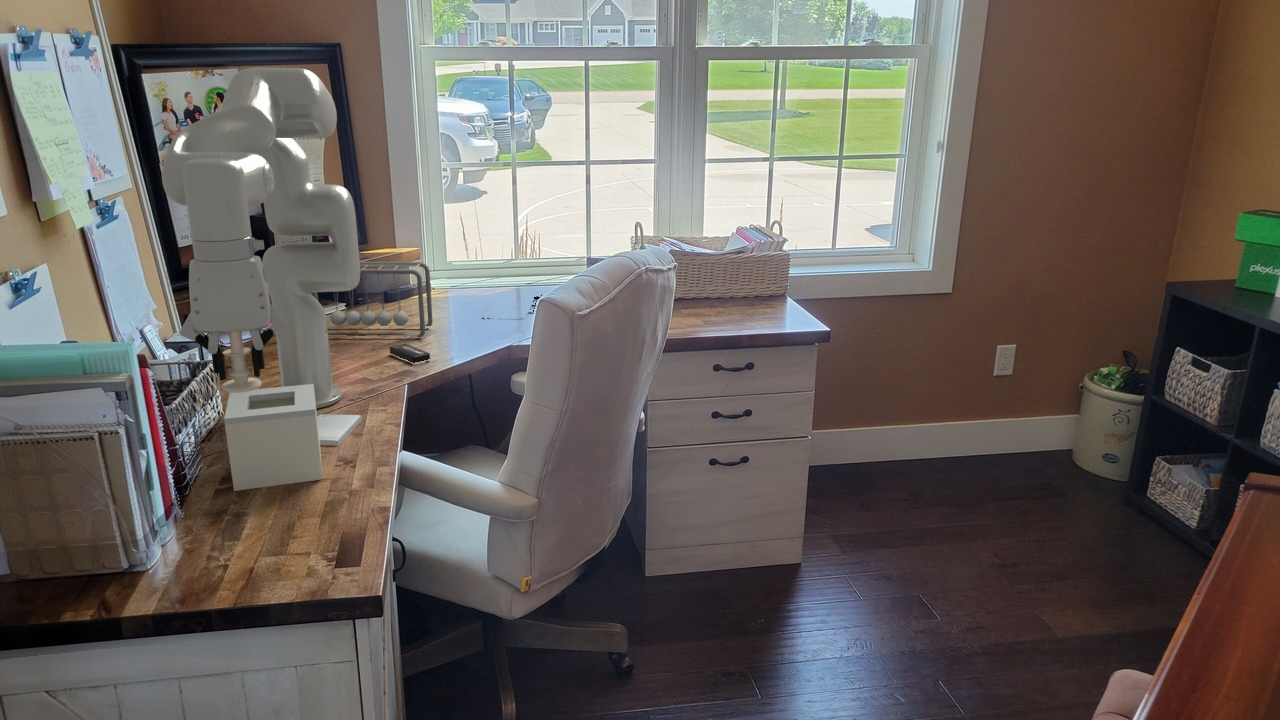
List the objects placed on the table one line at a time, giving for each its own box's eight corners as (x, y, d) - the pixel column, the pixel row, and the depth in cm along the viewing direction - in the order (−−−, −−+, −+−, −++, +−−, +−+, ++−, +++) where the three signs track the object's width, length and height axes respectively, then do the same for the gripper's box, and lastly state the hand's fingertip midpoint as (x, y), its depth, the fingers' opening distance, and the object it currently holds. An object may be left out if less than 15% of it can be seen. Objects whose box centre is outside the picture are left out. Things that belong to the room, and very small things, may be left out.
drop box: (238, 459, 149) (229, 391, 145) (320, 449, 153) (313, 383, 150) (234, 491, 137) (224, 418, 134) (322, 479, 142) (315, 409, 138)
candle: (265, 380, 131) (256, 312, 127) (256, 392, 126) (247, 321, 123) (228, 381, 130) (218, 313, 127) (217, 393, 125) (207, 322, 122)
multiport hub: (414, 366, 200) (413, 357, 199) (389, 356, 207) (388, 347, 206) (431, 362, 203) (430, 353, 202) (406, 352, 210) (405, 343, 209)
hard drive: (318, 414, 167) (291, 438, 155) (361, 414, 166) (337, 439, 155) (319, 422, 167) (292, 447, 155) (362, 423, 167) (338, 448, 155)
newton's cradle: (433, 329, 230) (429, 261, 224) (425, 340, 220) (420, 269, 214) (317, 328, 229) (310, 261, 224) (303, 339, 219) (295, 269, 214)
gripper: (288, 242, 128) (302, 362, 133) (159, 248, 122) (179, 373, 128) (288, 251, 121) (302, 378, 127) (151, 258, 116) (173, 390, 121)
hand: (240, 374), depth 127 cm, fingers closed on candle, 3 cm apart
